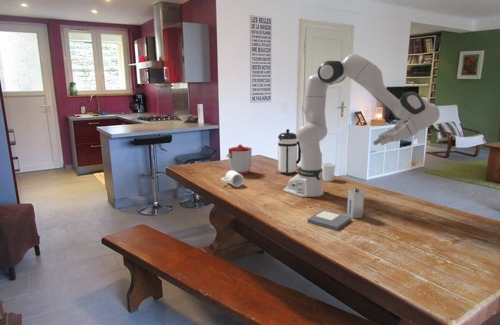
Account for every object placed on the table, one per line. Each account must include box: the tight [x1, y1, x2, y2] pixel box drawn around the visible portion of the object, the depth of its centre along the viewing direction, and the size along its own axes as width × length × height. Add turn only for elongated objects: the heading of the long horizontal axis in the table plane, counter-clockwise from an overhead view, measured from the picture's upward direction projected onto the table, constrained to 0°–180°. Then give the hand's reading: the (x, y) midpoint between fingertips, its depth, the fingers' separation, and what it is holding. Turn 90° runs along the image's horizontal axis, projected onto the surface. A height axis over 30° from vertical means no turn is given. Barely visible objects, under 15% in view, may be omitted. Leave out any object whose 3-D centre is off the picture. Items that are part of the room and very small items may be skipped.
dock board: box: [307, 209, 352, 231], centre depth 152 cm, size 14×14×2 cm
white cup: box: [322, 162, 336, 182], centre depth 216 cm, size 8×8×10 cm
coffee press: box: [276, 128, 301, 177], centre depth 233 cm, size 17×16×30 cm
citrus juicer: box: [226, 143, 253, 176], centre depth 233 cm, size 16×17×20 cm
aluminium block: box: [346, 188, 365, 219], centre depth 157 cm, size 5×5×13 cm
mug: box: [221, 169, 245, 188], centre depth 207 cm, size 12×10×8 cm
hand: (377, 143), depth 156 cm, fingers open, 8 cm apart
